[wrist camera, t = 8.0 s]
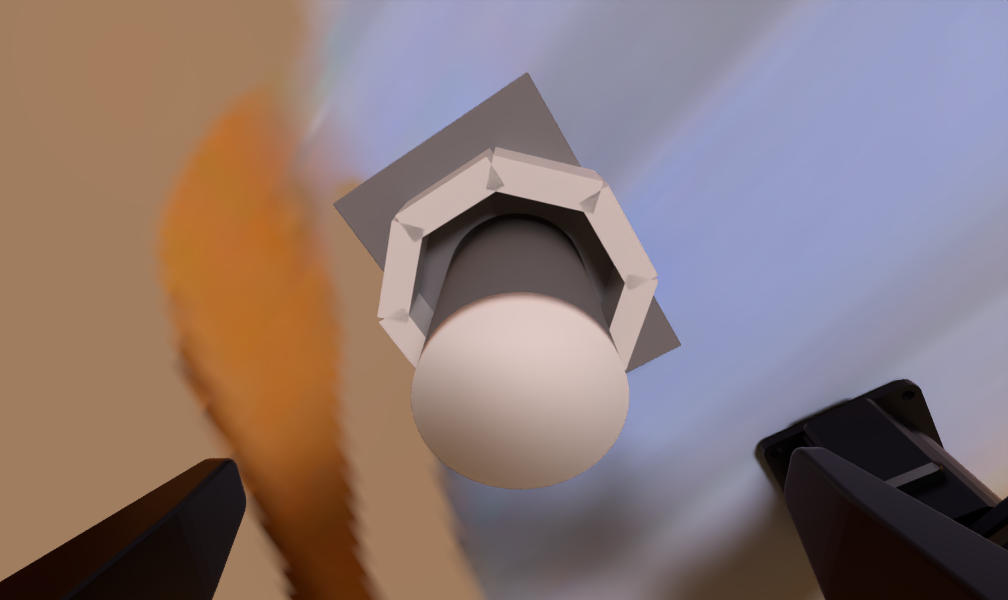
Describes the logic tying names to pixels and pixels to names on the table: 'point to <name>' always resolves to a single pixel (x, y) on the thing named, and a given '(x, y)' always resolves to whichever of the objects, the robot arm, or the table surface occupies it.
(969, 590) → the robot arm
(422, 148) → the grey block with ring
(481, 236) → the grey cylinder plug
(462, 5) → the table surface
